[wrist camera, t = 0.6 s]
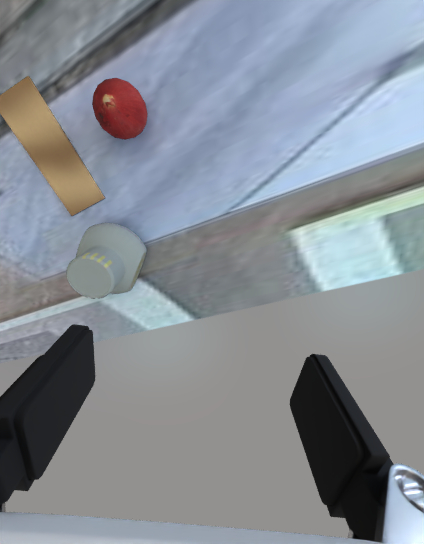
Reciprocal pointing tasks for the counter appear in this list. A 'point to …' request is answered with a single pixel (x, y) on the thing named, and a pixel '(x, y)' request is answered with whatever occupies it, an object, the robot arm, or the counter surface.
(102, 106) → the onion
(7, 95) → the row strip
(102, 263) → the air freshener
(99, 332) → the counter surface
